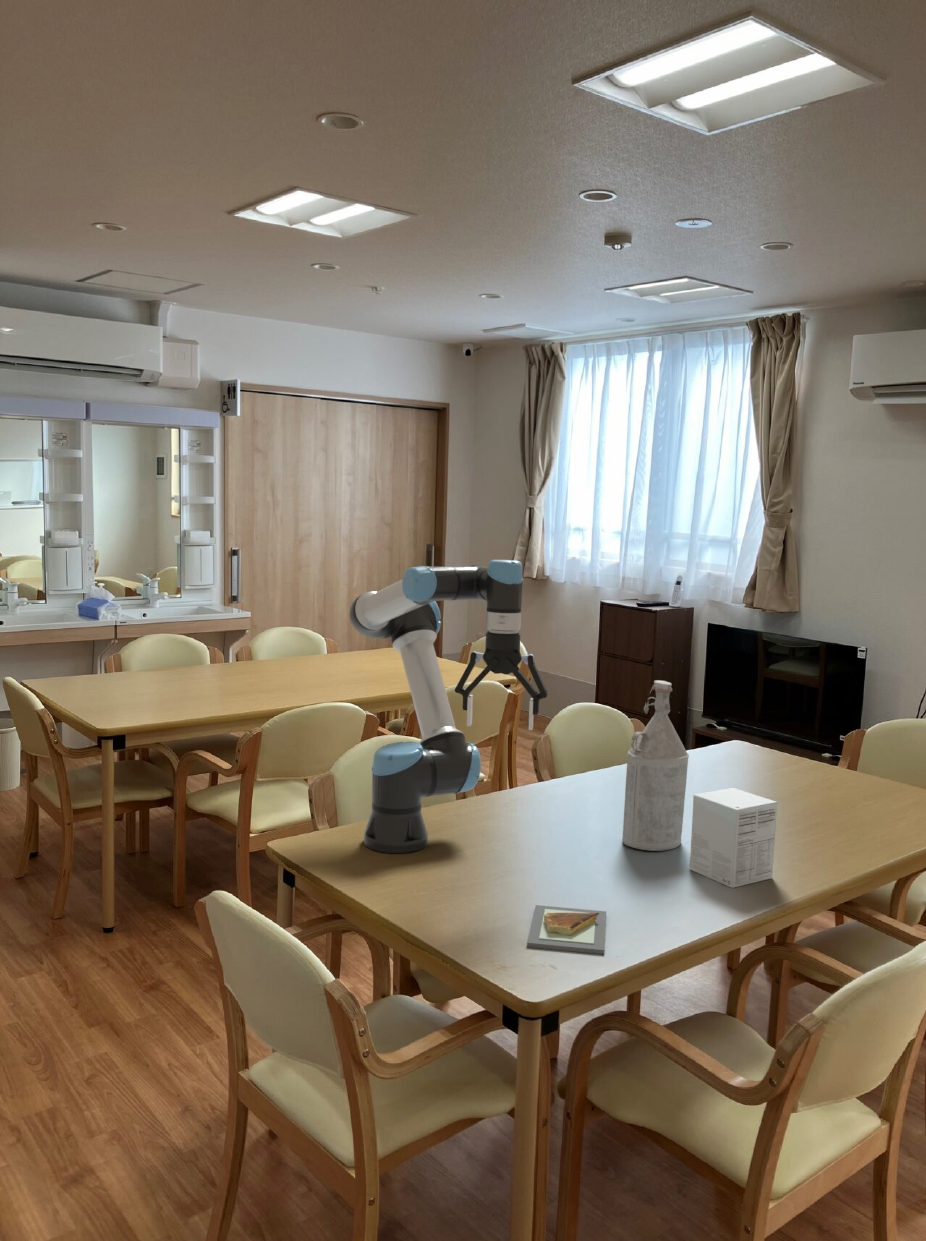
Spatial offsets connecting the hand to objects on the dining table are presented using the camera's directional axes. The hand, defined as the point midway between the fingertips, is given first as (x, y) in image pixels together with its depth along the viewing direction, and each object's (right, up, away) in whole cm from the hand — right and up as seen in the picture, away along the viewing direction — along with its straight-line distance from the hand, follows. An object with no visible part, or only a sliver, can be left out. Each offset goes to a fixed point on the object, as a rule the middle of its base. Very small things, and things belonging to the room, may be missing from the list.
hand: (499, 727), depth 222 cm
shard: (+11, -35, -29) cm, 47 cm away
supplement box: (+52, -33, +3) cm, 62 cm away
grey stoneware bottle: (+38, -31, +23) cm, 54 cm away
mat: (+12, -36, -30) cm, 48 cm away
